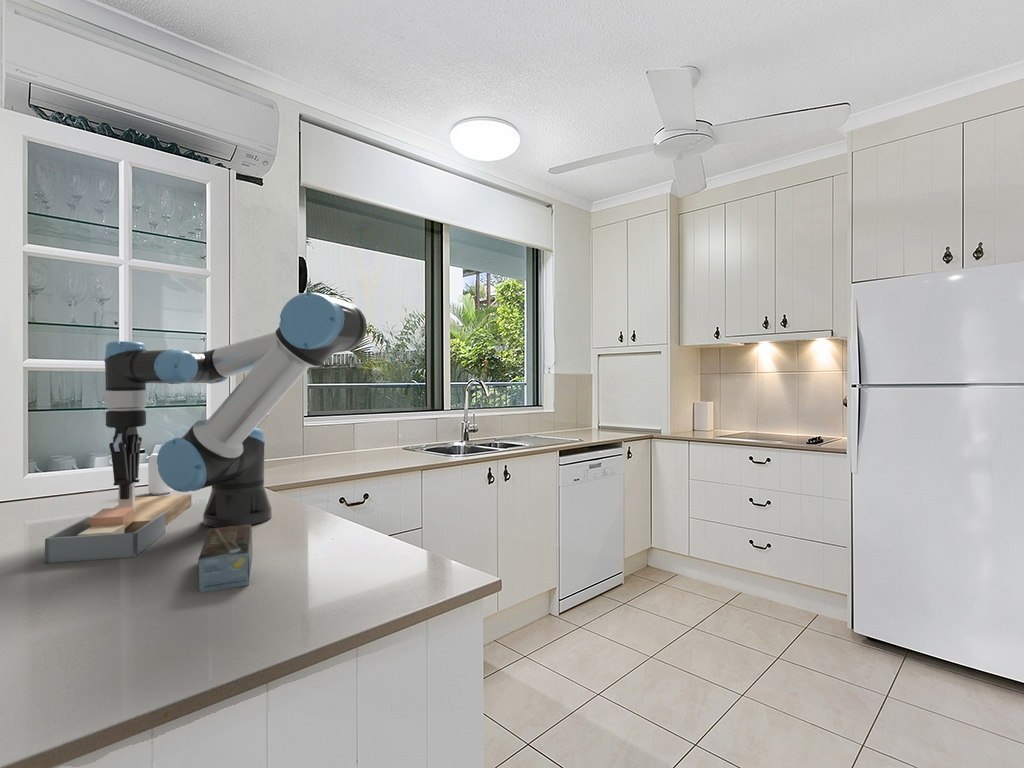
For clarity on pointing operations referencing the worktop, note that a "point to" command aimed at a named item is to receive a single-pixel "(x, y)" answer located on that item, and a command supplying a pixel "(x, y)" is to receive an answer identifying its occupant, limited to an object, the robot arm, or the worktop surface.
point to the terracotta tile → (113, 517)
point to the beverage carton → (225, 558)
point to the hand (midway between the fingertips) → (126, 512)
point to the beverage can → (155, 478)
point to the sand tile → (103, 530)
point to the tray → (101, 542)
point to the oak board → (157, 509)
